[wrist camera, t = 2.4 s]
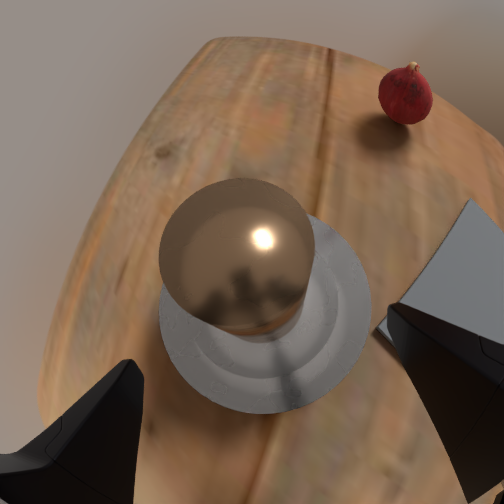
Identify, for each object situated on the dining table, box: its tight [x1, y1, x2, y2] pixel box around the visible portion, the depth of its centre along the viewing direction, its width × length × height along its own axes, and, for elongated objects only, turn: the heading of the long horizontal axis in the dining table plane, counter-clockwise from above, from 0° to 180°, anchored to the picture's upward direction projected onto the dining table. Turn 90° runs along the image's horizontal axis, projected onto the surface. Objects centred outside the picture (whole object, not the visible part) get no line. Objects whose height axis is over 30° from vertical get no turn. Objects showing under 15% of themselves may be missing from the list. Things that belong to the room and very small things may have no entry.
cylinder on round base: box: [159, 178, 371, 414], centre depth 12 cm, size 12×12×9 cm
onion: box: [378, 62, 433, 124], centre depth 22 cm, size 6×6×8 cm
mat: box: [376, 198, 504, 347], centre depth 16 cm, size 16×16×1 cm
